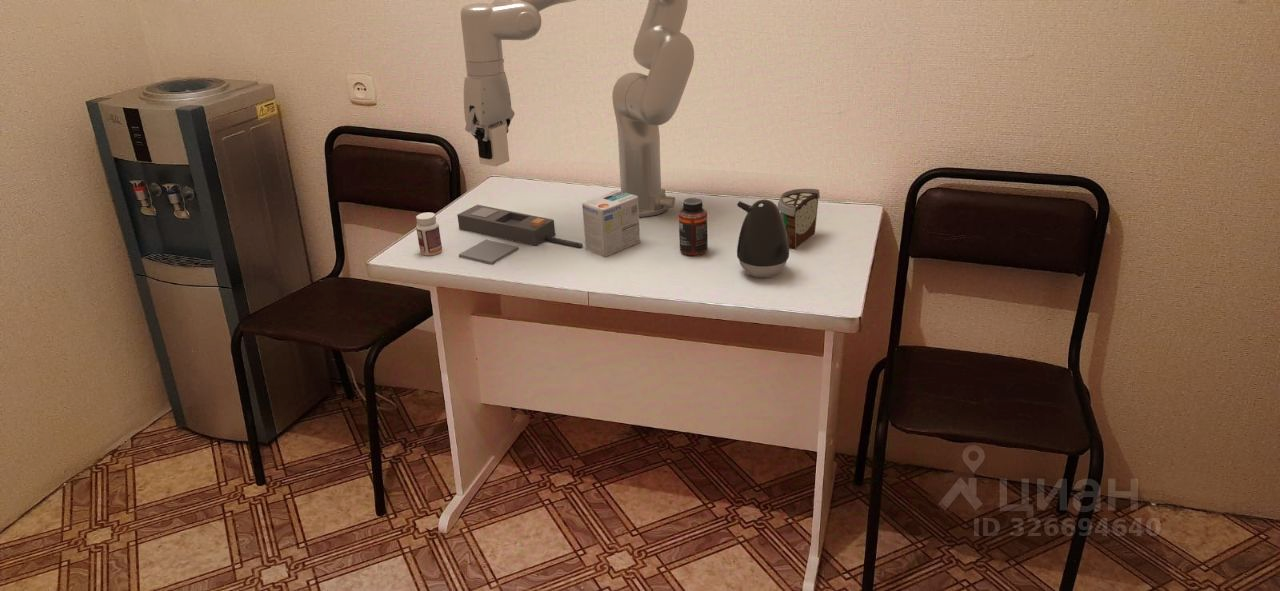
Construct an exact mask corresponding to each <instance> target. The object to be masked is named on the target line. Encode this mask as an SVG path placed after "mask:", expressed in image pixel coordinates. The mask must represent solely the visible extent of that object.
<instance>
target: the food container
mask: <svg viewBox="0 0 1280 591" xmlns="http://www.w3.org/2000/svg"><path fill="white" fill-rule="evenodd" d="M820 196H821V195H820V189H817V188H797V189H795V188H794V189H790V190H788V191H785V192H783V193H782V194H781V195H780V196H779V199H778V202H777V205H776V206H777V208H778V209H779V211H780V213H781V215H782V218H783V221H784V224H785V227H786V231H787V236H788V243H789V249H792V250H797V249H799V248H800V247H801V246H802V245H804V244H805V243H806V242H808V241H809V240H810V239H811V238H812V237H814V236H816V229H817V228H816V226H817V216H818V206H819V199H820Z"/></svg>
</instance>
